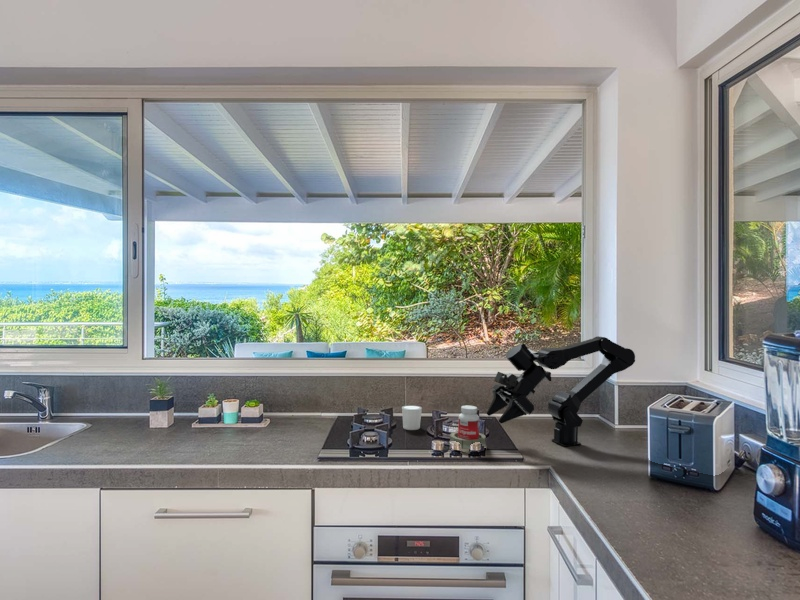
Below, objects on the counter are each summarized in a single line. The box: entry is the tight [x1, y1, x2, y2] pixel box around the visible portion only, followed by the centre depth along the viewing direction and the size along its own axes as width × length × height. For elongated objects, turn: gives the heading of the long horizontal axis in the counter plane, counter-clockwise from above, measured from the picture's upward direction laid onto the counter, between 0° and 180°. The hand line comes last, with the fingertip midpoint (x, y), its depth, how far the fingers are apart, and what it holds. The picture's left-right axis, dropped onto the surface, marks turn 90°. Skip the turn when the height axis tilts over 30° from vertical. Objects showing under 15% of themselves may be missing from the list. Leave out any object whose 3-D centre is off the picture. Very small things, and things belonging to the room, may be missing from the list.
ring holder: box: [449, 430, 487, 452], centre depth 148 cm, size 11×11×4 cm
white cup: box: [401, 404, 423, 431], centre depth 169 cm, size 7×7×7 cm
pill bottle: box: [457, 405, 480, 440], centre depth 148 cm, size 6×6×11 cm
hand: (493, 418), depth 150 cm, fingers open, 9 cm apart
